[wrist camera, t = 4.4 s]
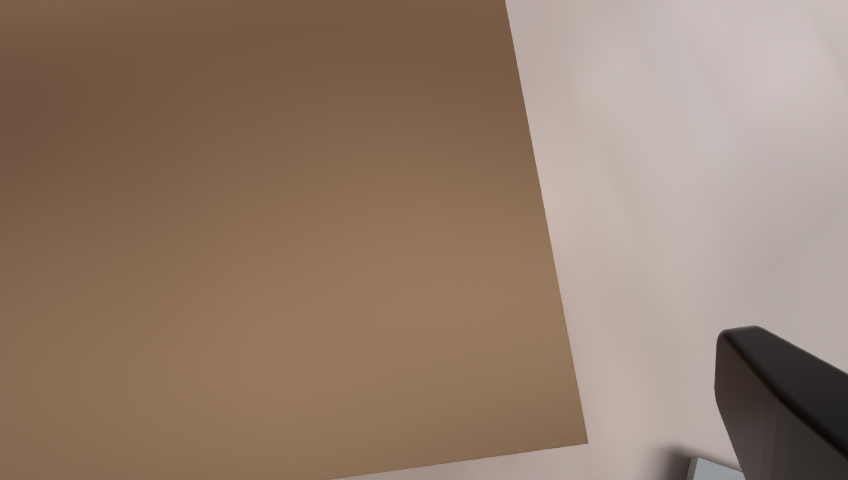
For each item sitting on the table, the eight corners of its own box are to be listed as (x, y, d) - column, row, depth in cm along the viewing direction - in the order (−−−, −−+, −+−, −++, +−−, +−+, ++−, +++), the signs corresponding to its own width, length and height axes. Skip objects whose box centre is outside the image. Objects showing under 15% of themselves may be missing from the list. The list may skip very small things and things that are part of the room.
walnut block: (519, 451, 17) (588, 443, 6) (304, 481, 18) (-41, 530, 6) (485, 242, 19) (486, -95, 7) (286, 272, 19) (-21, -11, 7)
